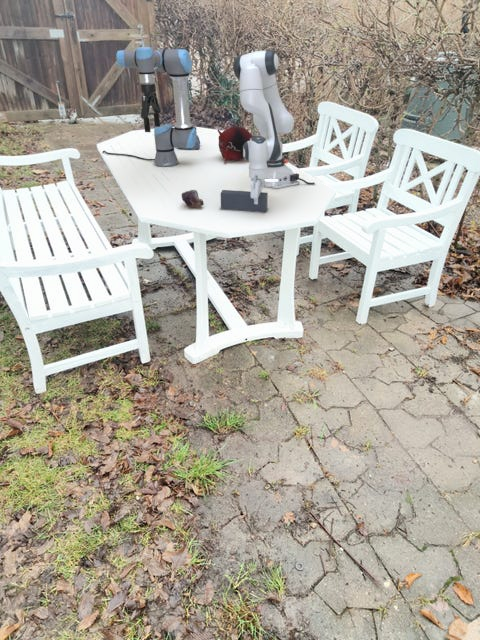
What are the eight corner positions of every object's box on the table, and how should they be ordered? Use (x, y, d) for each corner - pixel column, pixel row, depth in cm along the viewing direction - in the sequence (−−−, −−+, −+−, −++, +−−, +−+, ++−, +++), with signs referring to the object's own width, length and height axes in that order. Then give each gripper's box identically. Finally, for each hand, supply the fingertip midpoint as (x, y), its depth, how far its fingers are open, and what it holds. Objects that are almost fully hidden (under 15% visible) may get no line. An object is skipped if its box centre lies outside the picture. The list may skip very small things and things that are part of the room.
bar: (221, 209, 226) (220, 192, 221) (223, 205, 230) (222, 189, 225) (265, 212, 222) (266, 195, 217) (267, 208, 226) (267, 192, 221)
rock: (197, 203, 236) (179, 206, 232) (195, 186, 232) (177, 189, 228) (206, 207, 226) (187, 210, 222) (204, 189, 223) (185, 192, 219)
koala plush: (200, 149, 323) (198, 120, 312) (175, 150, 322) (172, 121, 311) (200, 144, 337) (198, 115, 326) (176, 144, 336) (173, 116, 325)
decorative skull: (215, 132, 306) (215, 129, 282) (249, 124, 305) (251, 121, 281) (222, 164, 313) (222, 164, 289) (255, 157, 312) (258, 156, 288)
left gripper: (145, 87, 211) (150, 134, 223) (163, 80, 231) (167, 124, 243) (130, 86, 212) (136, 134, 224) (150, 80, 232) (154, 124, 244)
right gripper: (260, 180, 205) (260, 209, 213) (267, 167, 222) (266, 194, 230) (247, 179, 207) (247, 208, 214) (255, 166, 223) (254, 194, 231)
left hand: (152, 129), depth 234 cm, fingers open, 13 cm apart
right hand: (257, 201), depth 222 cm, fingers open, 6 cm apart
